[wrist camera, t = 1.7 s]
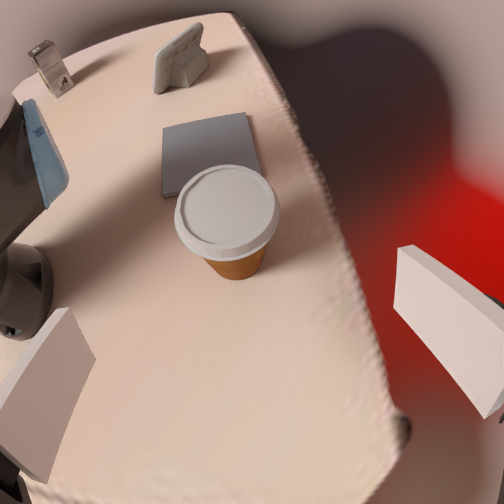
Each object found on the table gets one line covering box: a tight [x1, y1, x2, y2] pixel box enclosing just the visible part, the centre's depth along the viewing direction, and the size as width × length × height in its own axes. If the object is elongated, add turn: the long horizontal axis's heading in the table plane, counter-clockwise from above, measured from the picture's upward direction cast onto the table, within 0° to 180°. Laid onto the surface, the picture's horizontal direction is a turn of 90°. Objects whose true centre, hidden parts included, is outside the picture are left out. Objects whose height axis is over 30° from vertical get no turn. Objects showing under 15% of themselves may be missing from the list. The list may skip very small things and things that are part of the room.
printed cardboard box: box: [28, 40, 74, 98], centre depth 49 cm, size 9×6×16 cm
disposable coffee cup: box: [174, 164, 280, 280], centre depth 30 cm, size 10×10×12 cm
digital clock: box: [152, 22, 209, 94], centre depth 47 cm, size 16×9×11 cm, turn 148°
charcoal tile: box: [162, 112, 262, 198], centre depth 42 cm, size 14×14×1 cm
